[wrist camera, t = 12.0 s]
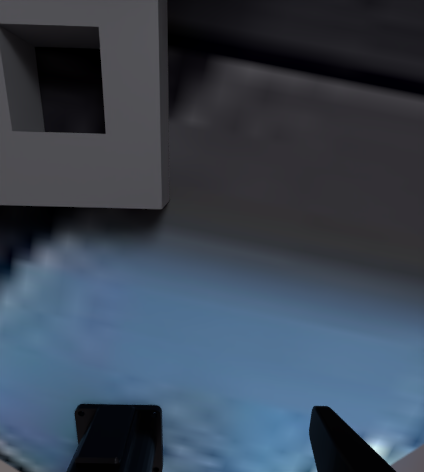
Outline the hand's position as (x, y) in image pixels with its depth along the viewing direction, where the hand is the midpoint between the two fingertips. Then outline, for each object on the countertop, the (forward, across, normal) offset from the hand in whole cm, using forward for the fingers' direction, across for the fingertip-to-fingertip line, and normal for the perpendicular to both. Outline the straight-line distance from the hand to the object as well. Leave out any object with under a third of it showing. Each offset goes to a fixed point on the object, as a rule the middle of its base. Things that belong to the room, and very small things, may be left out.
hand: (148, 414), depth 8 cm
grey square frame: (+12, +6, -10) cm, 17 cm away
